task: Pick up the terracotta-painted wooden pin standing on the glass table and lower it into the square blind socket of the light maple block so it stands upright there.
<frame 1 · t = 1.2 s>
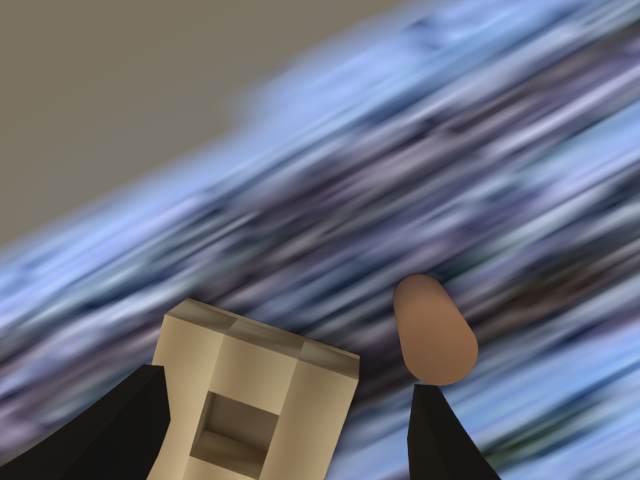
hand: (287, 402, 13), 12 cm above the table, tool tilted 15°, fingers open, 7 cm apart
pin: (419, 299, 24), on the table
bore block: (248, 406, 26), on the table
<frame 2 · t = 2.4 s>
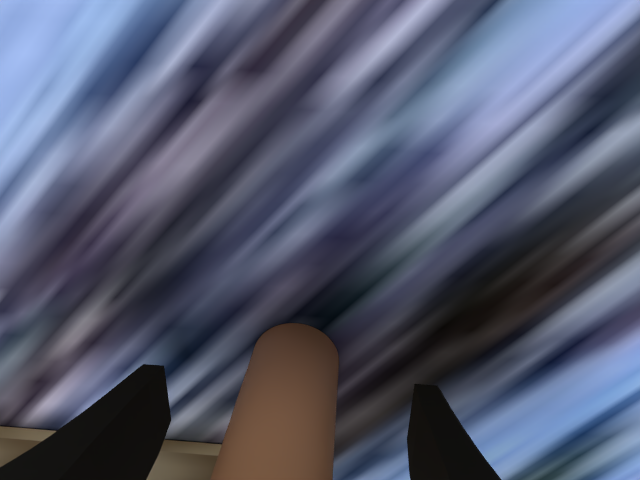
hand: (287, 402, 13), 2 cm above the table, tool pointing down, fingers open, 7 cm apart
pin: (295, 359, 15), on the table
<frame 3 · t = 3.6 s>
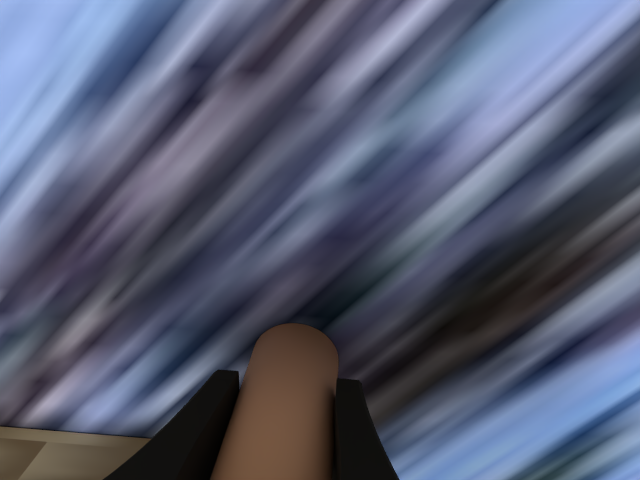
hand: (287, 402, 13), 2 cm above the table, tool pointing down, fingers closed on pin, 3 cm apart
pin: (295, 359, 15), on the table, touching gripper
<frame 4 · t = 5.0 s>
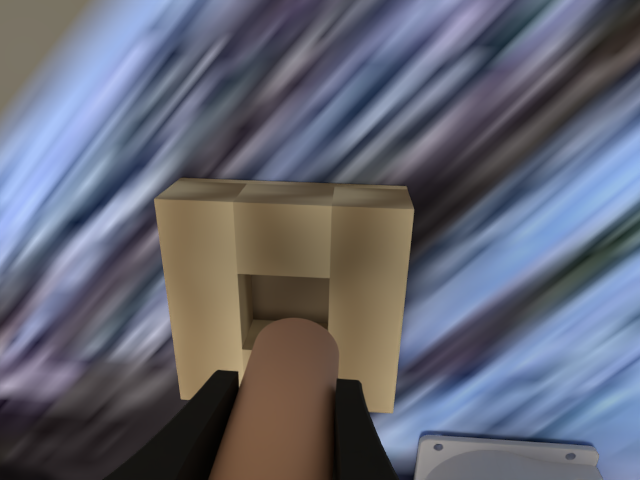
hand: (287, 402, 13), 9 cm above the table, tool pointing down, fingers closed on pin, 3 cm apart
pin: (296, 354, 15), point 7 cm above the table, touching gripper
bore block: (292, 281, 22), on the table
when the fingers open (4 cm above the table, at t = 6.6 s): pin drops 1 cm, resting on bore block.
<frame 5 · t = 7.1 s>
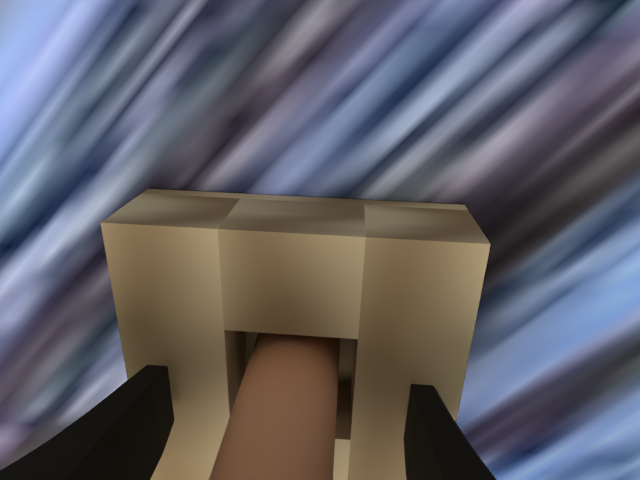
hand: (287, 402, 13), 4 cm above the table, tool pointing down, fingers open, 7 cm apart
pin: (299, 336, 16), point 1 cm above the table, touching bore block
bore block: (301, 329, 16), on the table
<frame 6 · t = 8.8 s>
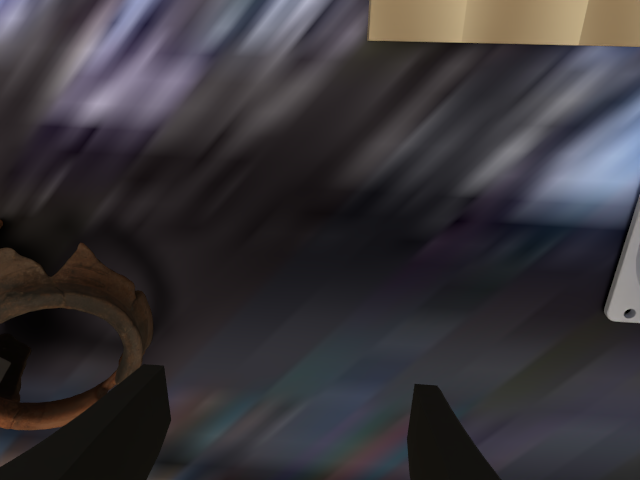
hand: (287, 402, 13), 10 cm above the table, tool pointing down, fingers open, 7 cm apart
pottery mug: (63, 298, 25), on the table
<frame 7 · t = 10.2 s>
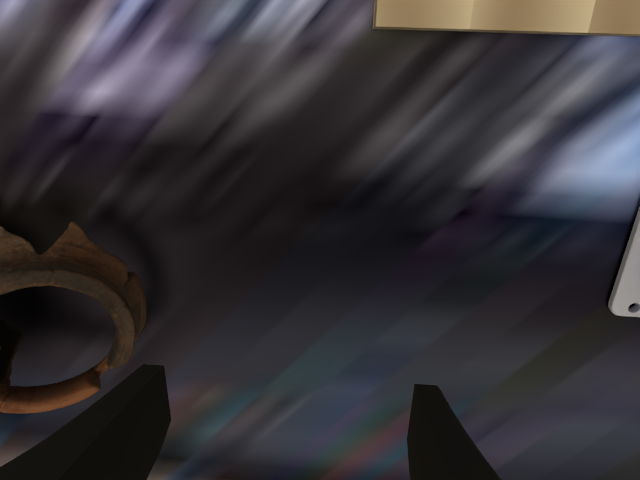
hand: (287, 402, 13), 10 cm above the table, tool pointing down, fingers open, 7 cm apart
pottery mug: (55, 282, 24), on the table
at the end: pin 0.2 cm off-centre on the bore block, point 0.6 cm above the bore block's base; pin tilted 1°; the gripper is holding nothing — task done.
